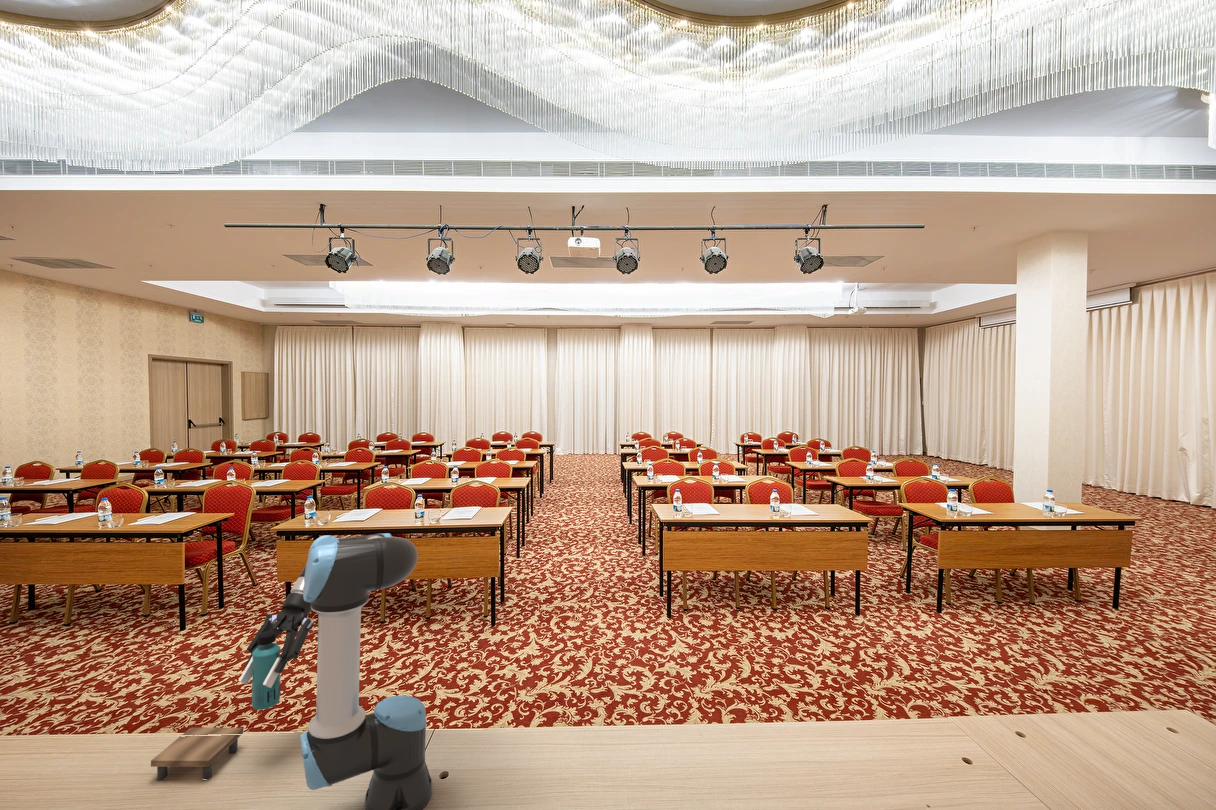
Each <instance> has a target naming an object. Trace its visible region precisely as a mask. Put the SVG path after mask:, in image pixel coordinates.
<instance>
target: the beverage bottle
mask: <svg viewBox="0 0 1216 810" xmlns="http://www.w3.org/2000/svg"><path fill="white" fill-rule="evenodd" d="M276 640H277V637H275V632H273V631H267V632H263V633H261V634H259V635H258V640H257V644H258V645H260V646H259V647H257V648H256V649H255V650H254V651H253V653H252V656H253V675H252V677H251V678H252V679H251V698H250V699H251V701H250V702H251V707H252V708H253V709H254V710H256V711H261V710H262V711H263V710H267V709H270V708H273V707H275V706H277V704H279V702H280V699H281V697H282V696H281V688H282V686H281V684H282V683H281V674H280V673H279V674H278V676H277V678H276V680H275V682H274V684H273V686H272V687H271V688H269V687H267V686H265V685H263V683H264V681H265V679H266V677H267V675H268V674H269V672H270V670H271V668H272V666H273V664H274V663H275V661H276V659H277V657H278V658H281V657H280V656H279V655H281V646H280V645H278V644H277V643H275V641H276Z"/></svg>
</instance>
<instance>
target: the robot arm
mask: <svg viewBox="0 0 1216 810" xmlns="http://www.w3.org/2000/svg"><path fill="white" fill-rule="evenodd" d="M418 559H419V552H418V549H417V546H416V545H415V544H414V542H412V541H411V540H409V539H408V538H405V537H401V536H393V535H392V534H391V533H390V532H389V533H388V532H387V533H386V532H385V533H375V534H368V535H361V536H360V535H359V536H351V537H349V536H348V537H342V538H341V537H340V538H337V537H336V536H333V535H329V534H327V535H322V536H319V537H318V538H316V539H315V540H314V541H313V543H312V544H311V546H310V548H309V549H308V557H307V559H306V560H307V561H306V563H305V565H304V567H303V569H302V571H301V573H300V575H298V577H297V579H296V581H295V583H294V584H293V585H292V587H291V590H290V593H288V594H287V596H286V598H285V600H284V602H283V604H282V608H281V609H280V611H279V612H277V614H271V613H268V614H267V615H266V616H265V620H264V621H263V623H262V625H261V627H260V628H259V630H258V631H257V632H256V634H255V636H254V637H253V639H252V640H251V642H250V643H249V645H248V646H247V648H246V651H247V652H249V653H250V655H249V658H248V659H247V661H246V662H245V665H244V670H243V672H242V674H241V675H240V677H239V679H238V682H240V683H241V684H243V685H248V684H249V682H250V680H251V678H252V675H253V656H252V653H253V651H254V650H255V649H256V648H257V647H259V646H260V645H258V644H257V640H258V635H259V634H261V633H263V632H267V631H273V632H275V637H276V638H278V636H279V635H281V634H283V633H284V632H286V634H285V637H284V638H285V639H284V643H283V647H282V651H281V653H280V655H279V656H280V658H278V657H277V659H276V661H275V663H274V664H273V666H272V668H271V670H270V672H269V674H268V675H267V677H266V679H265V681H264V683H263V685H265V686H267V687H269V688H271V687H272V686H273V684H274V682H275V680H276V678H277V676H278V674H279V673H280V675H281V674H282V673H283V671H284V669H285V667H286V665H287V664H288V662H289V661H291V660H297V658H299V655H300V652H301V651H302V648H303V645H304V644H305V641H306V639H307V637H308V634H309V633H310V630H311V629H312V628H313V627H314V625H315V622H314V621H313V620H312V619H310V618H308V616H309V615H310V614H311V612H312V611H314V612H315V613H316V614H317V615H318V618H317V619H318V620H317V621H318V623H317V624H318V625H317V659H316V660H317V664H316V665H317V667H316V668H317V669H316V705H315V706H316V708H315V710H316V711H315V713H316V714H315V716H313V717H312V718H311V720H310V721H309V723H308V727H307V729H308V730H307V731H305V732H304V733H302V734H301V735H300V736H299V738H300V745H301V747H300V748H301V754H302V760H303V761H302V762H303V769H304V775H305V782H306V787H307V788H308V789H309V790H312V791H314V790H315V791H317V790H318V789H323V788H325V787H332V786H333V785H335V784H338V783H340V782H344V781H346V780H349V779H352V778H355V777H357V776H360V775H363V774H365V773H368V772H369V773H370V772H372V771H373V772H372V776H371V778H370V781H369V784H368V787H367V790H366V794H365V796H364V810H421V809H422V810H423V809H424V808H425V807H426V806H427V805H428V803H429V802H430V800H429V799H431V798H430V797H432V793H433V781H432V777H431V775H430V771H429V768H428V765H427V763H426V735H427V733H426V732H427V731H426V728H427V724H428V721H427V714H426V706H425V704H424V703H423V702H422V701H421V700H420V699H418V698H416V697H413V696H410V695H404V694H403V695H393V696H389V697H386V698H383V699H382V700H381V701H379V702H378V703H377V704H376V705H375V706H374V707H375V708H374V710H373V712H371V713H368V714H367V713H366V711H365V709H364V708H363V707H362V706H360V705H359V704H360V703H359V702H360V701H359V699H360V666H361V665H360V664H361V663H360V662H361V629H362V628H361V627H362V626H361V625H362V624H361V623H362V622H361V621H362V619H361V618H362V608H363V607H364V606H365V605H366V604H367V603H368V602H369V595H370V593H369V592H373V591H377V590H378V591H379V590H382V589H383V590H384V589H387V588H391V587H393V586H395V585H397V584H399V583H401V582H402V581H404V580H405V579H407V578H408V577H409V576H410V575H411V574H412V573H413V571H414V570H415V568H416V566H417V564H418ZM299 627H300V628H299ZM428 801H429V802H428ZM426 804H427V805H426Z"/></svg>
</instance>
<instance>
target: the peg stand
mask: <svg viewBox="0 0 1216 810" xmlns="http://www.w3.org/2000/svg"><path fill="white" fill-rule="evenodd" d="M208 734H242V735H243V734H244V727H189V728H188V730H186V731H184V733H183V734H182V735H193V736H185V737H181V735H180V736H179V737H177V738H176V740H173V742H172V743H171V744H169V745H168V746H167V747H166V748H164V749H162V751H160V752H159V753H158V754H157V755H156V756H155V757H153V758H152V759H151V760H150V767H152V768H155V767H156V769H157V770H156V773H157V774H156V776H157V777H156V781H163V780H165V779H166V777H167V778H168V775H169V773H168V771H169V770H168V769H169V767H171V768H175V767H176V768H179V767H180V768H182V767H183V768H184V767H187V768H192V767H193V768H194V767H196V768H197V767H198V768H200V767H201V779H202V778H203V779H208V780H210V779H211V778H212V777H213V763H214V762H215V761H216V760H217V759H218V758H219V757H221V755H222V754H223V753H225V752H226V751H227V749H228V755H234V754H236V753H237V752H238V748H239V747H238V746H239V745H238V744H239V742H238V741H239V738H240V737H241V736H242V735H221V736H194V735H208ZM164 778H165V779H164ZM209 778H210V779H209Z"/></svg>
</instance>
